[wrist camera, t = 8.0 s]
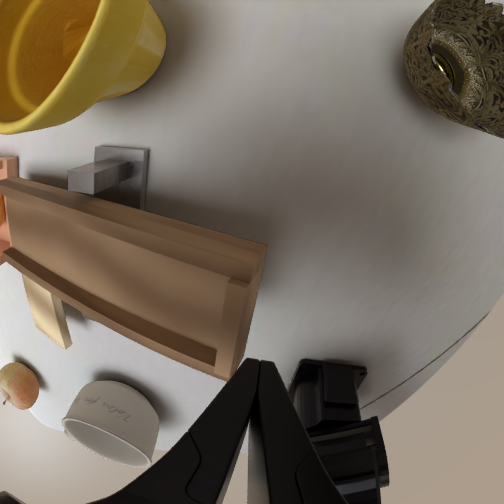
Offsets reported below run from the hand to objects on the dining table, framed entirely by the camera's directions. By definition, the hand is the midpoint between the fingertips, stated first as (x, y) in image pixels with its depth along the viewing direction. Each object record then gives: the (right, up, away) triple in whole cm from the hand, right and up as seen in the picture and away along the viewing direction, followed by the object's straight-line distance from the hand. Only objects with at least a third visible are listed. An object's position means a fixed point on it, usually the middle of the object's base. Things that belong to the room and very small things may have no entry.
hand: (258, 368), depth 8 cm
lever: (-11, 0, +10) cm, 15 cm away
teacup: (-17, -14, +22) cm, 31 cm away
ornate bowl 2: (+11, +15, +5) cm, 20 cm away
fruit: (-35, -15, +24) cm, 46 cm away
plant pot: (-9, +17, +7) cm, 21 cm away
